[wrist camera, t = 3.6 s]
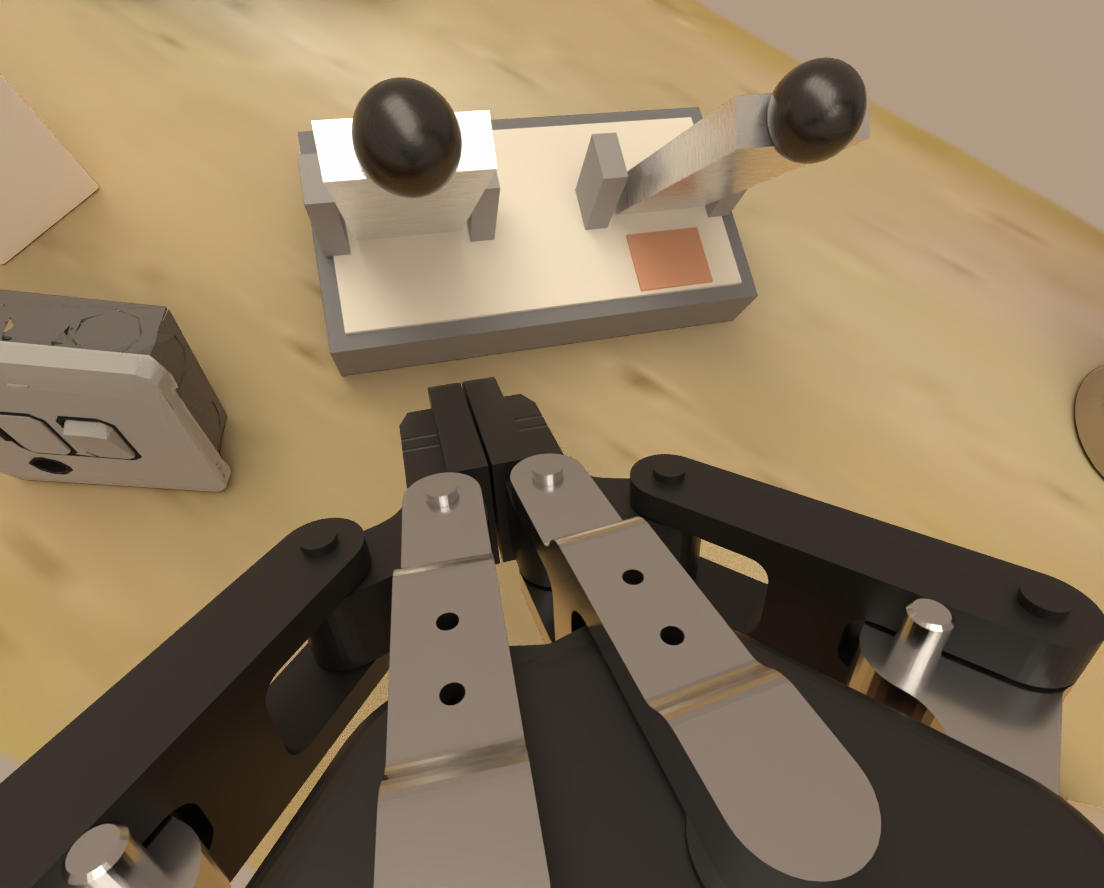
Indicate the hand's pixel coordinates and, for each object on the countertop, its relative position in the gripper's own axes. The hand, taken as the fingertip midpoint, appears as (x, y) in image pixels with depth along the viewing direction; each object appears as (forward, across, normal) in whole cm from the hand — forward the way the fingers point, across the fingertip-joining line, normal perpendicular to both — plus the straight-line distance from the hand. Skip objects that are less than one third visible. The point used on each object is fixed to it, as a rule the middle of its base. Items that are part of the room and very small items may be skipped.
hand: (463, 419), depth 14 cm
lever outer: (+19, 0, -1) cm, 19 cm away
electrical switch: (+17, +14, +7) cm, 23 cm away
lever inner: (+19, -13, -1) cm, 23 cm away
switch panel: (+22, -7, +2) cm, 23 cm away
